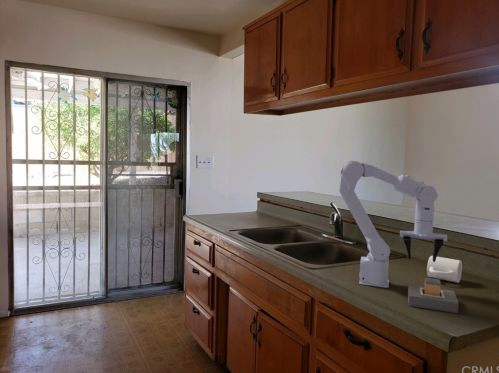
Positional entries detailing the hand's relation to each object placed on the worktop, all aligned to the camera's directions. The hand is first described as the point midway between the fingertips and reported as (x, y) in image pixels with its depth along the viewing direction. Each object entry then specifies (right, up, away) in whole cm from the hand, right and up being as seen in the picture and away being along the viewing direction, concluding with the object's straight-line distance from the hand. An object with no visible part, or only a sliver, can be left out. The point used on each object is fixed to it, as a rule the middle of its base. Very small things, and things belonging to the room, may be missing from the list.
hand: (421, 259), depth 130 cm
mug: (+11, -9, +8) cm, 17 cm away
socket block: (-3, -10, -14) cm, 18 cm away
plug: (-3, -11, -14) cm, 18 cm away
